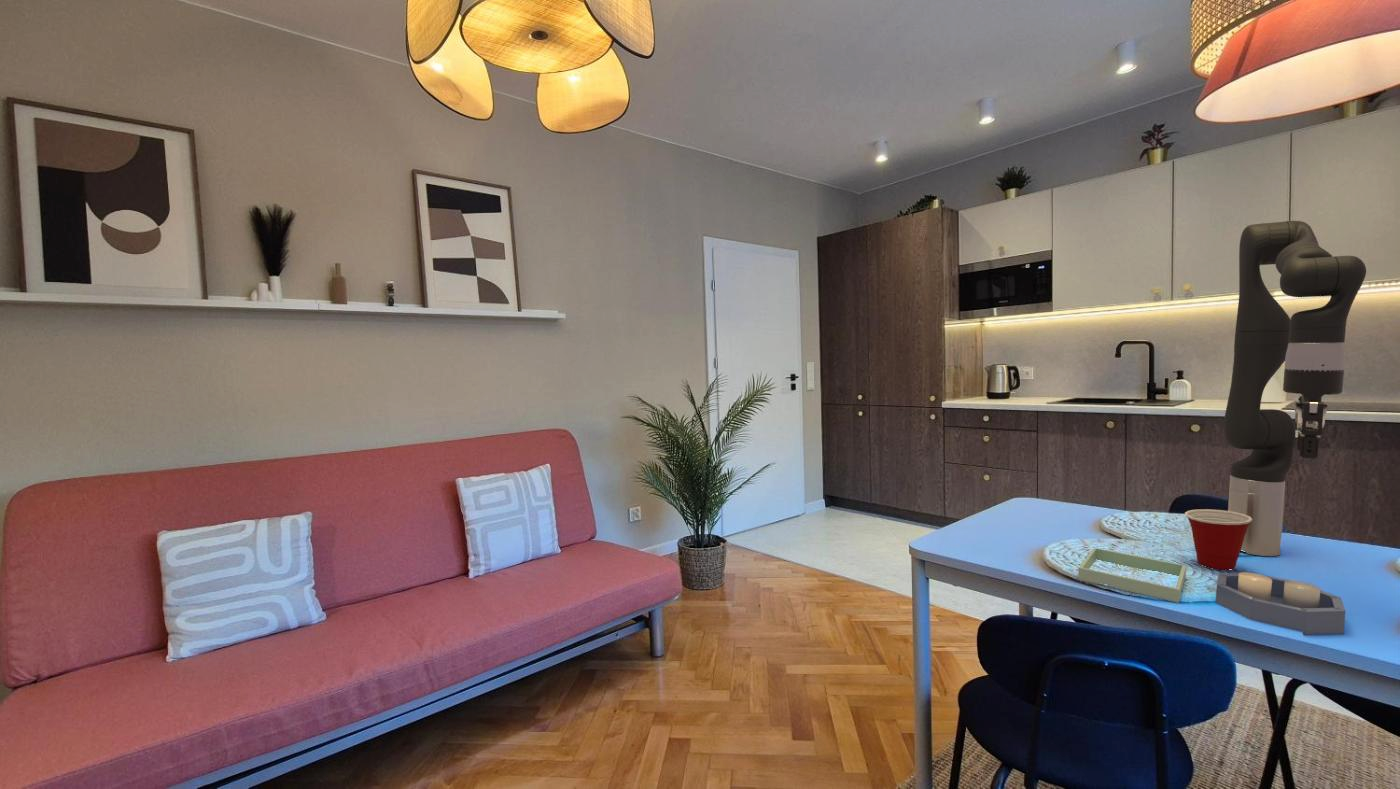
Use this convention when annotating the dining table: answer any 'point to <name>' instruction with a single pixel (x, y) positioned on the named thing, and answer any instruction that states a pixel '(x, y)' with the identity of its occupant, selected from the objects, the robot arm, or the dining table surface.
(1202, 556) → the plastic cup
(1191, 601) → the dining table surface
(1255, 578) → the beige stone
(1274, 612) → the bowl
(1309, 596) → the beige rounded piece
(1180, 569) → the tray
